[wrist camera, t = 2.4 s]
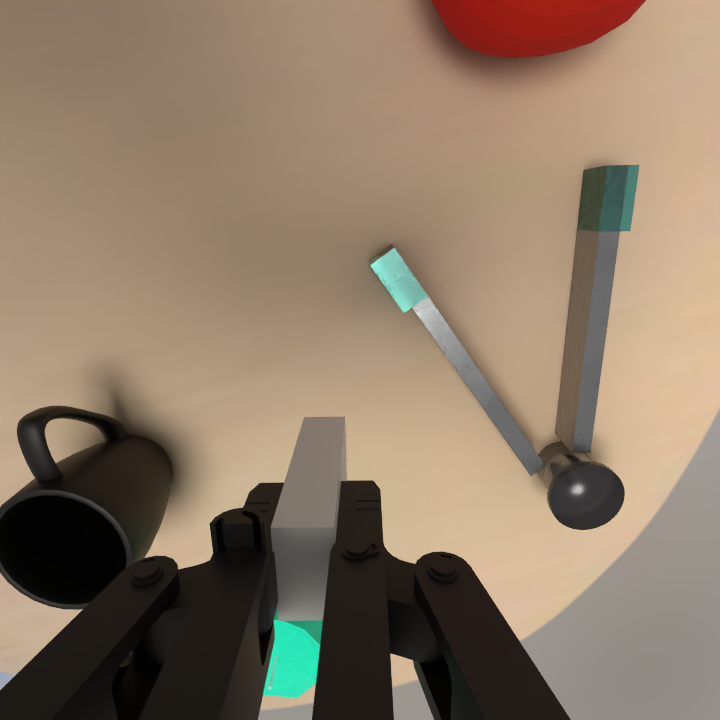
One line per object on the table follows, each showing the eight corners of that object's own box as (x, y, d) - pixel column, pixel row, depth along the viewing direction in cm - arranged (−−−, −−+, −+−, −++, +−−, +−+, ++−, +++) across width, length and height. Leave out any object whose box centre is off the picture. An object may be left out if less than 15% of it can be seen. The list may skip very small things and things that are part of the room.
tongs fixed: (588, 491, 37) (619, 529, 32) (525, 492, 37) (547, 530, 32) (632, 169, 30) (678, 161, 26) (554, 170, 30) (587, 163, 26)
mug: (168, 364, 34) (97, 419, 25) (199, 510, 37) (147, 606, 28) (55, 373, 34) (-57, 431, 25) (96, 518, 38) (11, 615, 29)
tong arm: (531, 446, 36) (546, 466, 33) (510, 459, 36) (523, 480, 33) (391, 244, 31) (394, 247, 29) (369, 260, 32) (370, 265, 29)
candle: (246, 551, 38) (195, 695, 27) (288, 499, 37) (254, 628, 26) (307, 588, 39) (284, 742, 28) (351, 539, 38) (345, 680, 27)
